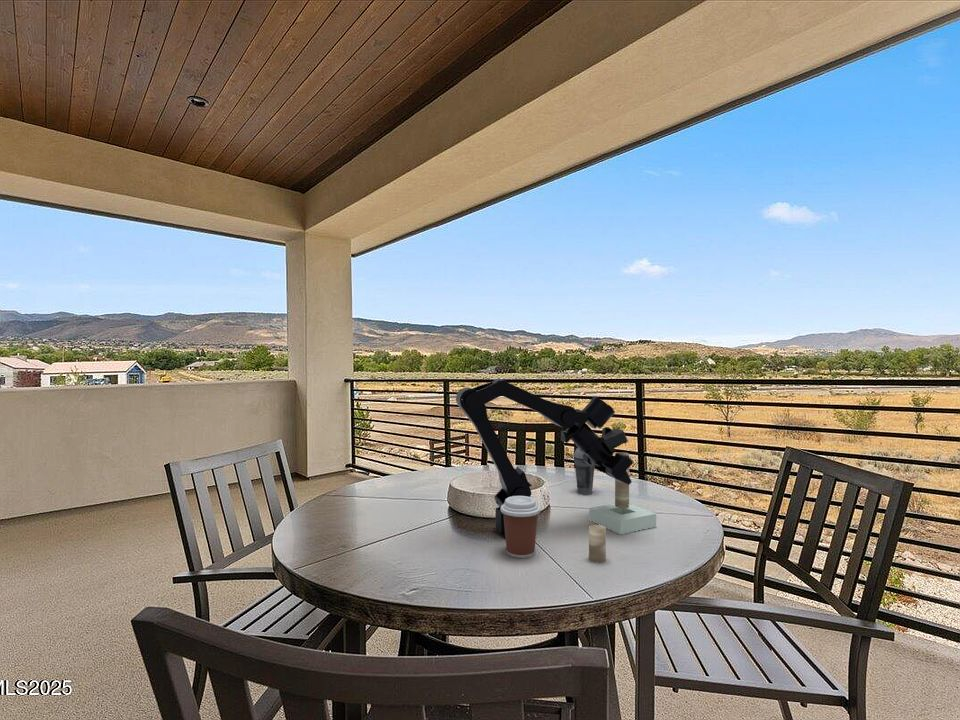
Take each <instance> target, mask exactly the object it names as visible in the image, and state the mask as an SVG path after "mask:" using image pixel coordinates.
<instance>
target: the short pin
mask: <svg viewBox="0 0 960 720" xmlns="http://www.w3.org/2000/svg"><path fill="white" fill-rule="evenodd" d="M606 529H607V528H605V527H604V526H601V525H598V524H591V525H589V526H588V560H589V561H590V562H592V563H596V562H598V563H597V564H600V563H601V562H602V563H605V562H606V561H607V559H606V558H607V555H606V553H607V550H606V549H607V547H606V546H607V545H606V542H607V537H606V535H607V530H606ZM602 563H601V564H602Z"/></svg>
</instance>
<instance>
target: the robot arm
mask: <svg viewBox="0 0 960 720" xmlns="http://www.w3.org/2000/svg"><path fill="white" fill-rule="evenodd" d="M499 397H504V398H506V399H509V400H510V401H512V402H515V403H517V404H520V406H521V405H522V406H524V407H526V408H528V409H530V410H532V411H534V412H537V413H538V414H540V415H541V416H542V417H543V418H544V419H546V420H548V421H549V422H550V423H552V424H554V425H555V426H559V427H560V428H562V429H566V430H561V431H560V434H561V435H560V441H562V442H563V443H565V444H567V443H569V442H570V441H572V442H573V443H574V444H575V445H576V447H577V448H578V447H579V448H580V451H581V452H582V453H584V455H583V461H584V462H585V463H586V464H588V465H590V466H592V463H593V464H595V465H594V470H597V471H598V472H601V473H603V474H606V476H609V477H611V478H612V479H614V480H615V479H617V480H619V481H622V482H624V483H626V484H629V486H630V485H631V484H632V479H631V477H630V474H629V475H628V473H627V471H626V470H627V469H628V468H629V469H630V467H631V466H632V464H633V463H634V460H633V459H632V458H631V457H630V455H629V456H627V455H624V454H622V453H621V454H616V455H615V453H616V452H617V449H616V448H617V447H620V446H621V445H624V444H626V443H628V442H629V440H628V437H627V436H626V434H625V431H624V430H623V429H620V428H610V427H609V426H605V427H604V425H606V423H607V422H608V421H609V420H610V419H611V418H612V417H613V416H614V414H616V412H615V409H614V408H613V407H612V406H611V405H610V404H608V403H607V402H605V401H604V400H603V399H601V398H600V397H599V396H596V395H595V396H593V397H592V398H591V400H590V401H589V402H588V404H586V406H585V407H583V409H577V408H574V407H573V406H570V405H567V404H562V403H559V402H555V401H550V400H548V399H545V398H543V397H541V396H538V395H536V394H535V393H532V392H529V391H527V390H524V389H523V388H520V387H519V386H516V385H514V384H512V383H510V382H508V380H505V379H501V378H496V379H494V380H493V381H490V382H488V383H484V384H480V385H478V386H474V387H463V388H461V389H459V390H458V392H457V393H456V396H455V402H456V405H457V406H458V407H459V409H460V410H461V411H462V412H463V414H464V415H465V417H467V419H468V420H469V421H470V422H471V423H472V424H473V427H474V428H475V430H476V432H477V434H478V436H479V438H480V440H481V442H482V443H483V445H484V447H485V449H486V451H487V453H488V455H489V457H490V459H491V461H492V462H493V464H494V467H495V468H496V471H497V472H498V478H499V482H500V485H501V489H500V490H499V491H498V492H497V493H496V494H495V495H494V497H493V498H494V501H495V504H496V505H497V506H498V507H495V527H494V528H492V531H493V532H494V533H496V534H497V535H499V536H500V537H502V538H503V539H505V527H504V515H503V513H502V512H501V511H500V508H501V506H502V505H503V504H504V503H505V499H506V498H508V497H512V496H528V497H532V496H531V495H532V490H531V487H532V484H531V483H530V482H529V481H528V478H527V474H526V473H525V471H524V470H523V469H521V468H520V467H518V466H517V467H514V466H513V463H512V462H511V459H510V458H509V456H508V455H507V452H506V449H505V448H504V446H503V445H502V443H501V440H500V438H499V437H498V435H497V433H496V431H495V429H494V428H493V424H492V423H491V422H490V420H489V416H488V410H487V407H486V404H487V403H490V402H492V401H494V400H495V399H498V398H499ZM597 428H598V429H601V436H599V435H598V434H596V432H595V431H594V430H595V429H597ZM593 429H594V430H593ZM590 461H591V462H592V463H591V462H590Z"/></svg>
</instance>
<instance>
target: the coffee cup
mask: <svg viewBox="0 0 960 720" xmlns="http://www.w3.org/2000/svg"><path fill="white" fill-rule="evenodd" d="M536 501H537V500H536V499H535V498H534V497H532V496H530V497H528V496H512V497H508V498H506V499H505V503H504V504H503V505H502V506H501V508H500V511H501V512H502V513H503V515H504V527H505V538H504V539H505V549H506V554H507V555H508V556H509V557H511V558H515V559H516V558H517V559H528V558H532V557H533V556H534V555H535V553H536V551H535V550H536V538H537V537H536V536H537V535H536V534H537V525H538V524H537V523H538V515H539V514H540V513H541V506H540V505H538V503H537V502H536Z"/></svg>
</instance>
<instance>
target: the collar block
mask: <svg viewBox="0 0 960 720" xmlns="http://www.w3.org/2000/svg"><path fill="white" fill-rule="evenodd" d="M590 520H591V521H590ZM589 521H590V522H592V521H593V522H592V523H594V522H595V523H594V524H596V523H597V524H596V525H598V524H600V525H602V526H604V527H606V529H607V528H608V529H607V530H609V529H611V530H612V532H614V533H616V532H617V533H616V534H618V533H619V534H618V535H620V534H622V535H625V533H627V534H631V533H635V532H634V531H636V532H639V531H638V530H640V531H643V530H642V529H645V530H649V529H648V528H650V529H654V528H657V513H656V512H655V513H654V512H652V511H651V510H650V511H649V510H647V509H644V508H642V507H639V506H637V505H633V504H630V503H629V508H618V507H615V502H614V503H608V504H603V505H597V506H592V507H589ZM653 527H654V528H653ZM611 530H610V531H611ZM630 532H631V533H630Z"/></svg>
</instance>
